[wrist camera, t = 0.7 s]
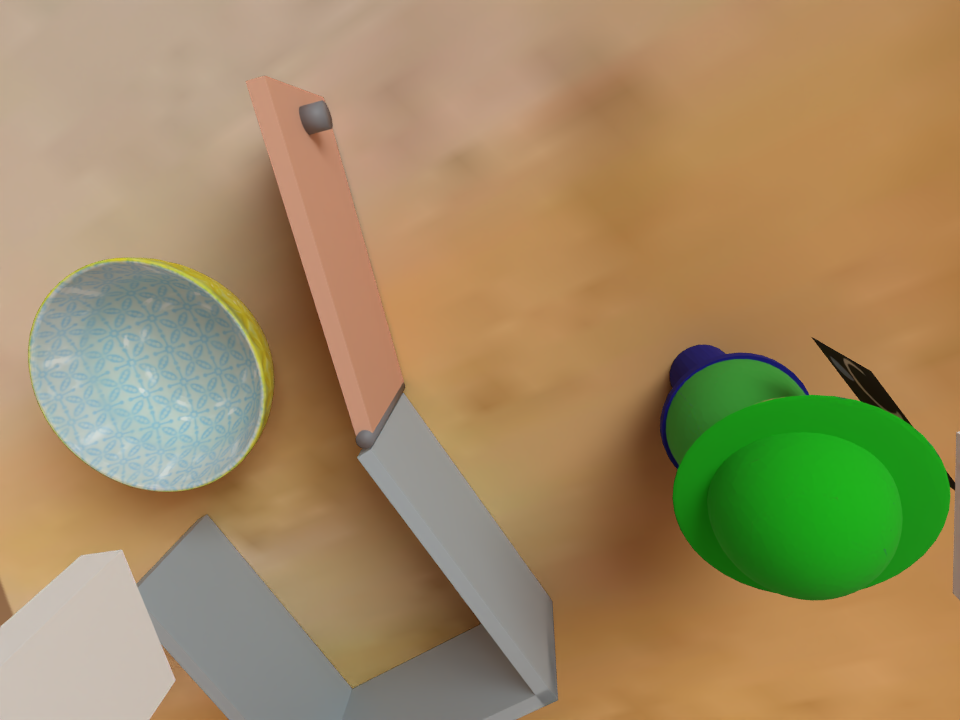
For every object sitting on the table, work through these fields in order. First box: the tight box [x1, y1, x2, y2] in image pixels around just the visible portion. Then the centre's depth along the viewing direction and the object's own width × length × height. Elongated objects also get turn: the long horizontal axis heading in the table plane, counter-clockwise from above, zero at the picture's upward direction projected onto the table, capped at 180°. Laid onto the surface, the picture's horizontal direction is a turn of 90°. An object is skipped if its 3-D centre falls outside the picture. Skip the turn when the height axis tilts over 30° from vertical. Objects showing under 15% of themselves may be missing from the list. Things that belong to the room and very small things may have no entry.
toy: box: [660, 338, 955, 600], centre depth 27 cm, size 9×9×15 cm
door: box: [246, 76, 405, 449], centre depth 29 cm, size 2×16×7 cm, turn 13°
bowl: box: [28, 258, 274, 492], centre depth 32 cm, size 11×12×6 cm
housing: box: [136, 393, 558, 720], centre depth 35 cm, size 16×16×8 cm
